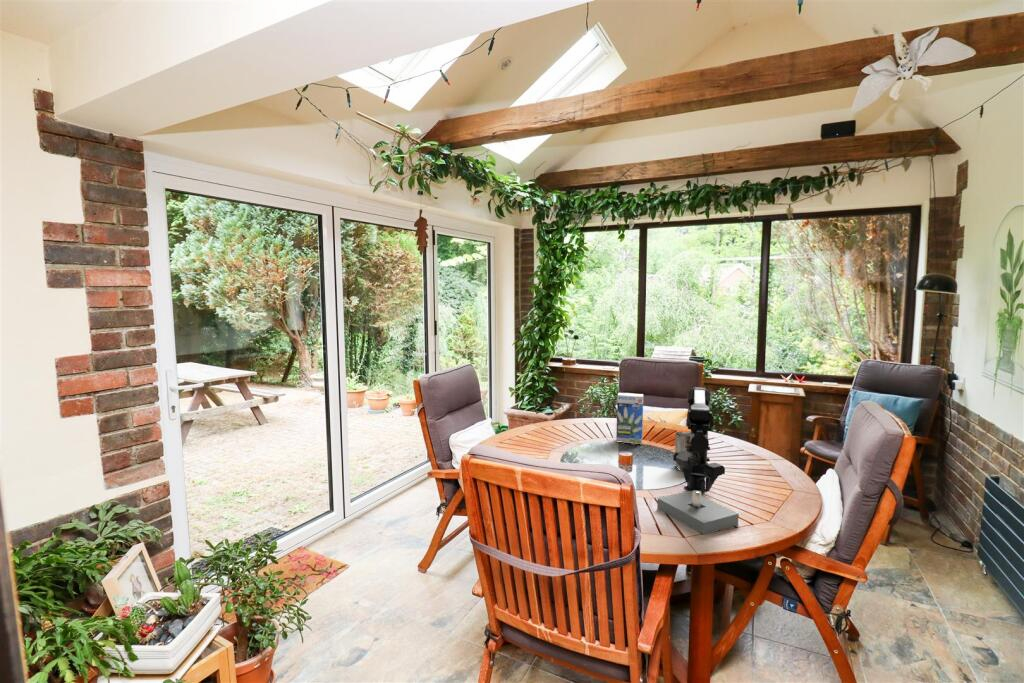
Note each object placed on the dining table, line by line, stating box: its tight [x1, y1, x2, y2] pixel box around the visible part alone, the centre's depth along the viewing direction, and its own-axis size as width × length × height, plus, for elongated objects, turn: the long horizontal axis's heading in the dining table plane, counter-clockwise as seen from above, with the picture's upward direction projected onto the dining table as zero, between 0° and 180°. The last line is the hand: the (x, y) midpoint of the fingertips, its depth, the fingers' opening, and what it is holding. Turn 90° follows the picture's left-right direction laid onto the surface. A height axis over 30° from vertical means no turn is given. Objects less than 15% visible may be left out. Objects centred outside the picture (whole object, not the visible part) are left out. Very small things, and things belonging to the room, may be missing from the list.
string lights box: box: [615, 392, 644, 444], centre depth 264 cm, size 13×8×26 cm, turn 73°
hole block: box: [656, 490, 740, 535], centre depth 177 cm, size 22×16×4 cm
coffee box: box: [674, 431, 691, 470], centre depth 225 cm, size 9×6×16 cm
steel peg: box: [692, 490, 703, 509], centre depth 177 cm, size 3×3×9 cm
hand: (697, 486), depth 176 cm, fingers open, 9 cm apart
